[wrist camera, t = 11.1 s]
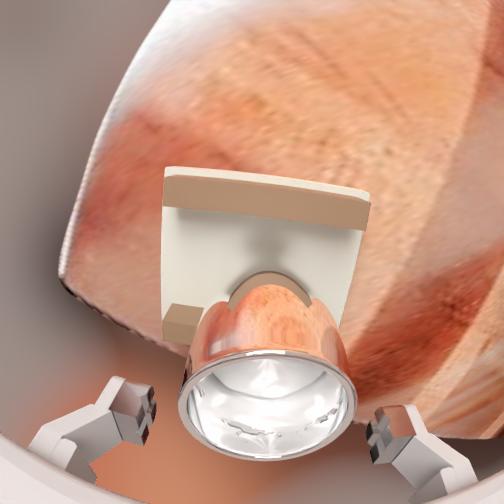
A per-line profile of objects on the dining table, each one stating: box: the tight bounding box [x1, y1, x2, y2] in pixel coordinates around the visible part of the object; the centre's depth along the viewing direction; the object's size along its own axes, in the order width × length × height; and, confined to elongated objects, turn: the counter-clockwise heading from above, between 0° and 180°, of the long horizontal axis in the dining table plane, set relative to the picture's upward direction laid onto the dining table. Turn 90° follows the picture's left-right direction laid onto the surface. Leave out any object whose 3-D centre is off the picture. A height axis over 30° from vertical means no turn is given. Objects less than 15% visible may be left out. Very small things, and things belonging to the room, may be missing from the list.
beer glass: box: [178, 233, 357, 461], centre depth 16 cm, size 7×7×15 cm
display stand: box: [161, 166, 371, 345], centre depth 23 cm, size 16×14×6 cm
